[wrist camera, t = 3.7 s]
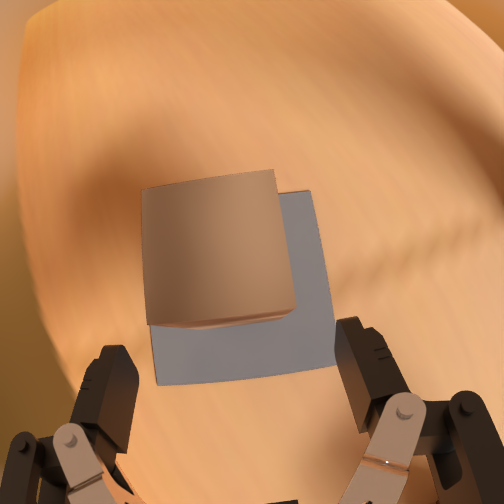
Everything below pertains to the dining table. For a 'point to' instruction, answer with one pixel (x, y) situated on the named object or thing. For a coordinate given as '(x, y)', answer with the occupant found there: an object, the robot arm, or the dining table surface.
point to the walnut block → (215, 253)
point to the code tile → (267, 333)
